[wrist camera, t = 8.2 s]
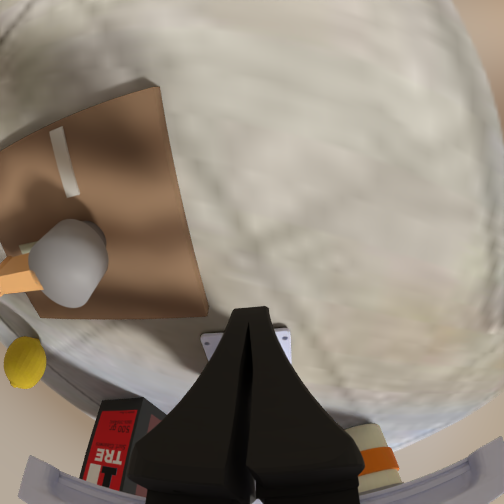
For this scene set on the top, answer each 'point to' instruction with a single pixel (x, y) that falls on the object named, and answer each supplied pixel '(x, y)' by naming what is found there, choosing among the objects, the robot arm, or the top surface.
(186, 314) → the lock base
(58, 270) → the orange and grey bar
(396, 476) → the reusable coffee cup
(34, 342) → the lemon
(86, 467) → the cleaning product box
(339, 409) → the top surface
